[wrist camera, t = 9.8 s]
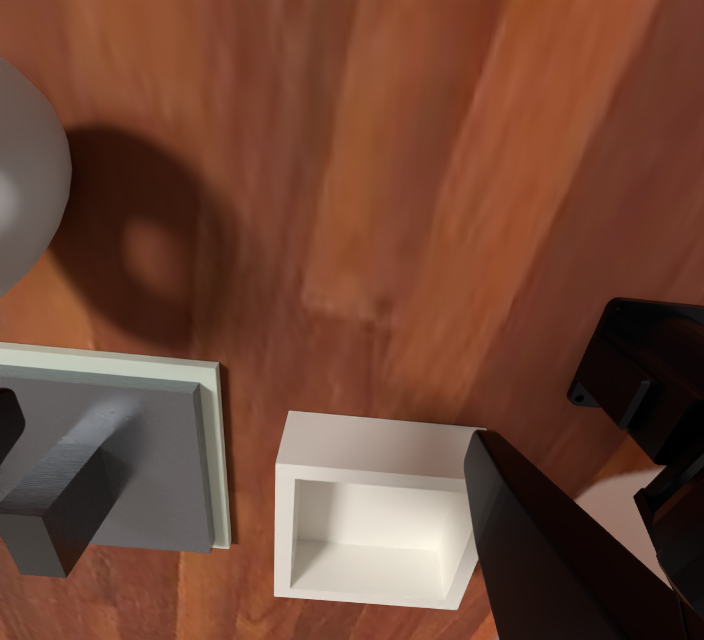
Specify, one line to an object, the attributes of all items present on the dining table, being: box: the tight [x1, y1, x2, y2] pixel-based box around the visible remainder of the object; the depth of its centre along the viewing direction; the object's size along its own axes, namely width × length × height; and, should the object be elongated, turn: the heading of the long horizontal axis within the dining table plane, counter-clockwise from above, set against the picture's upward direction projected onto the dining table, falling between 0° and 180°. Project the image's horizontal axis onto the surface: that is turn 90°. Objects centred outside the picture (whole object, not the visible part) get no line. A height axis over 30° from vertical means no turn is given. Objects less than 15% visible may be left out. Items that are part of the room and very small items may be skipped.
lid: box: [0, 364, 215, 578], centre depth 22 cm, size 14×14×6 cm
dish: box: [274, 411, 487, 610], centre depth 24 cm, size 12×12×4 cm
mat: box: [0, 342, 231, 549], centre depth 24 cm, size 16×16×1 cm
